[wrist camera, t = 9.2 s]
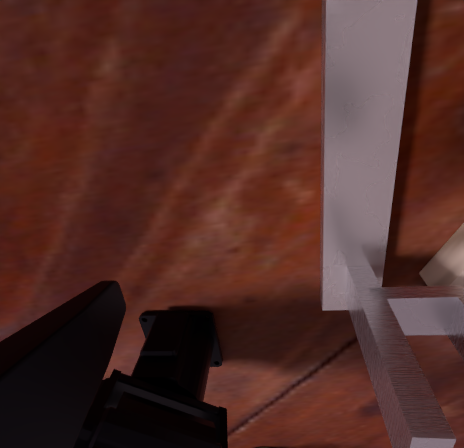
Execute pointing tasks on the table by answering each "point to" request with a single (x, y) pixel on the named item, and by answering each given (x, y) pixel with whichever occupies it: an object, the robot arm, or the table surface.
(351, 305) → the standards
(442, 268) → the rail
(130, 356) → the table surface
